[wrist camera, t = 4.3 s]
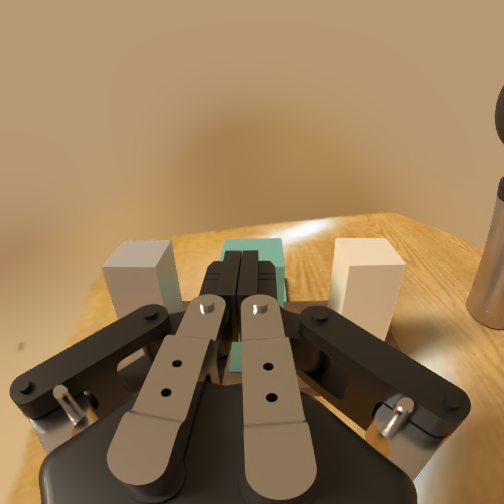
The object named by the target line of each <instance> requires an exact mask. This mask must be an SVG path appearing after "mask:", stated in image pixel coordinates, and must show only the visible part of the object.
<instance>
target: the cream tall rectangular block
mask: <svg viewBox="0 0 504 504" xmlns="http://www.w3.org/2000/svg"><path fill="white" fill-rule="evenodd" d="M405 268H406V263H405V262H404V261H403V260H402V258H401V257H400V256H399V254H398V253H397V252H396V251H395V249H394V248H393V247H392V246H391V244H390V243H389V242H388V241H387V239H386V238H336V242H335V251H334V260H333V269H332V277H331V285H330V292H329V299H328V306H327V307H328V308H331V309H332V310H334V311H336V312H337V313H339V314H340V315H342V316H344V317H345V318H347V319H349V320H350V321H352V322H353V323H355V324H357V325H358V326H360V327H361V328H363V329H365V330H366V331H368V332H369V333H371V334H373V335H374V336H376V337H378V338H379V339H381V340H382V341H385V338H386V335H387V332H388V329H389V326H390V323H391V319H392V316H393V313H394V309H395V306H396V302H397V299H398V295H399V292H400V288H401V284H402V280H403V276H404V272H405Z"/></svg>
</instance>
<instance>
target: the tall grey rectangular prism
mask: <svg viewBox="0 0 504 504" xmlns="http://www.w3.org/2000/svg"><path fill="white" fill-rule="evenodd" d="M102 269H103V273H104V276H105V280H106V283H107V286H108V290H109V293H110V296H111V299H112V302H113V305H114V308H115V311H116V314H117V317H118V320H119V319H121V318H122V317H124V316H126V315H128V314H130V313H131V312H133V311H135V310H137V309H139V308H140V307H142V306H145V305H149V304H158V305H162V306H164V307H165V308H166V309H167V311H168V314H171V313H177V312H182V311H184V309H183V304H182V299H181V293H180V288H179V282H178V277H177V271H176V265H175V259H174V253H173V246H172V240H144V241H123V243H122V244H121V245H120V246H119V247H118V248H117V249H116V251H115V252H114V253H113V254H112V255H111V256H110V258H109V259H108V260H107V261H106V262H105V264H104V265H103V266H102ZM143 355H144V352H143V349H142V348H141V349H140V350H138V351H136V352H135V353H133V354H132V357H133V360H134V361H135V360H137V359H138V358H140V357H141V356H143Z"/></svg>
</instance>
